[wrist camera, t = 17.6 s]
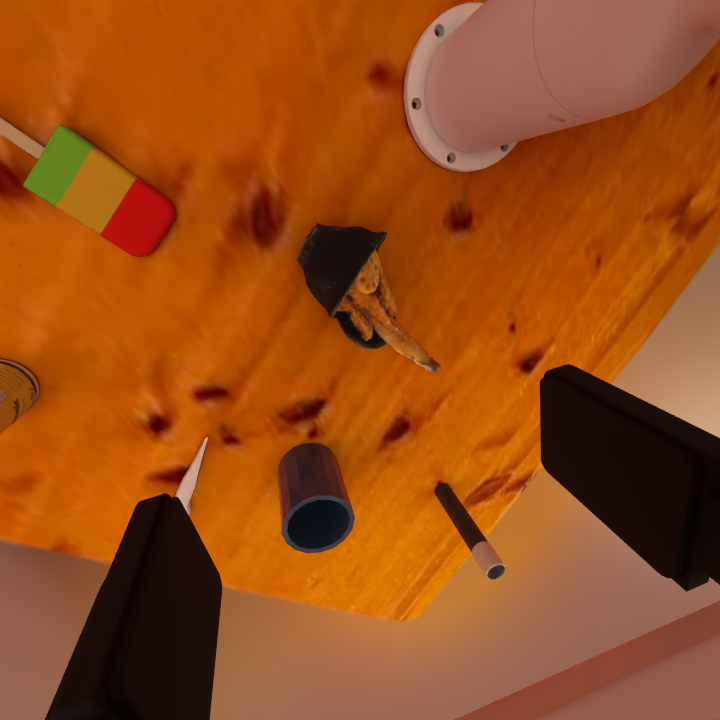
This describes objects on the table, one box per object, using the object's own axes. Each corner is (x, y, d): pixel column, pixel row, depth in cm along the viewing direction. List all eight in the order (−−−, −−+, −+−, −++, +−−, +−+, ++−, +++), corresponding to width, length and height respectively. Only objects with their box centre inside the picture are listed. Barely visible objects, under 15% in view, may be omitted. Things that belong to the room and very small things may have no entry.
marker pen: (448, 480, 51) (505, 560, 40) (450, 493, 52) (506, 575, 41) (433, 486, 51) (485, 568, 39) (435, 498, 52) (486, 583, 40)
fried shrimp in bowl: (338, 173, 30) (519, 299, 32) (324, 237, 41) (460, 329, 43) (272, 262, 28) (469, 393, 30) (275, 305, 39) (420, 399, 40)
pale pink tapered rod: (176, 541, 45) (173, 555, 43) (152, 538, 44) (148, 551, 42) (220, 435, 41) (219, 445, 40) (195, 429, 40) (192, 438, 39)
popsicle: (149, 261, 34) (142, 264, 32) (-54, 131, 28) (-75, 126, 26) (183, 209, 33) (179, 209, 31) (-18, 63, 27) (-37, 53, 25)
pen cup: (329, 435, 44) (345, 486, 36) (342, 481, 47) (360, 538, 39) (270, 454, 43) (273, 510, 35) (287, 500, 46) (293, 562, 38)
